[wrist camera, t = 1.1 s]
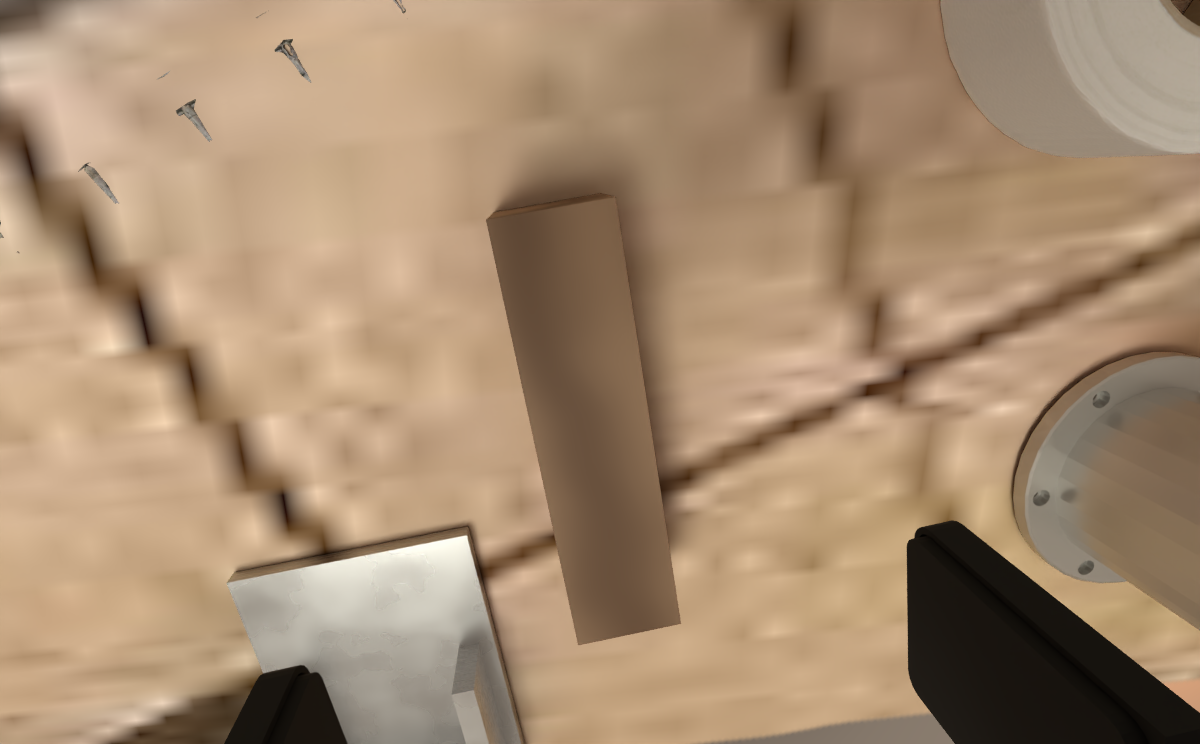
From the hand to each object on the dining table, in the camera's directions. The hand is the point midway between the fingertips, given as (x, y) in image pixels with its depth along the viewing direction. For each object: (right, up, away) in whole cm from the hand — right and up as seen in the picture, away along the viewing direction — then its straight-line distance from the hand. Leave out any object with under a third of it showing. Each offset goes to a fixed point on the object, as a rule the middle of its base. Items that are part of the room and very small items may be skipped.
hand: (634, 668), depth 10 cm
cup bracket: (-11, -10, +22) cm, 27 cm away
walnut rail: (-1, +3, +19) cm, 20 cm away
